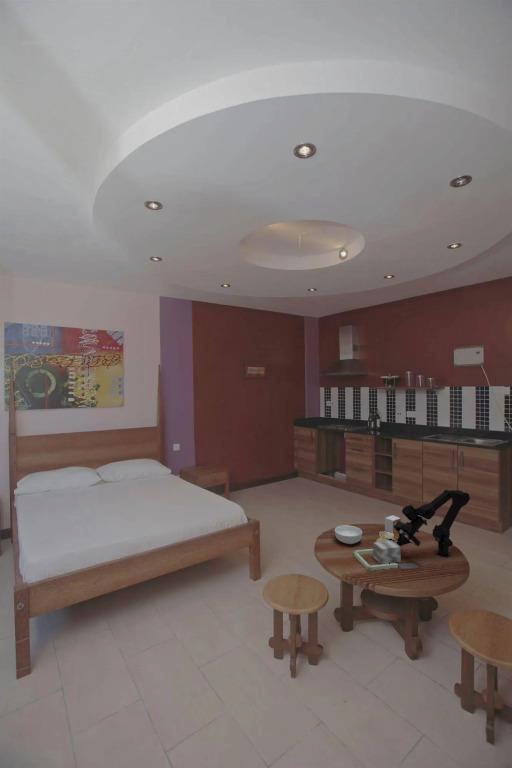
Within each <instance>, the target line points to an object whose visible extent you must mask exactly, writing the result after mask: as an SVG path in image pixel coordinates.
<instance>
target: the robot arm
mask: <svg viewBox="0 0 512 768" xmlns="http://www.w3.org/2000/svg"><path fill="white" fill-rule="evenodd" d="M470 499H471V496H470V494H469V493H468V492H466V491H463V490H460V489H455V490H454V489H444V491H443V492H442V493H440V494H439V495H438V496H436V497H435V498H434V499H433V500H431V502H428V503H424V504H422V505H420V506H419V507H417V508H415V507H414V506H413V505H412V504H409V505H408V506H407V505H406V506H404V507H403V508H402V509H401V512H402V514H403V515H404V516H405V518H407V519H408V521H407V522H403V521H402V520H401V521H399V520H398V522H397V524H395V525H394V526H393V527H394V528H395V529H396V530H397V531H398V533H399V538H398V539H397V540H396V542H395V543H396V544H397V545H399V546H400V547H402V546H405V545H408V544H412V542H413V543H414V546H416V547H420V546H421V541H420V540H419V539H418V538H417V537H416V536H415V535H416V533H418V534H419V532H420V531H419V530H420V528H421V527H422V526H423V525H424V526H428V521H427V520H431V519H432V518H433V517H434V516H435V515H436V512H437V510H438V509H440V508H441V507H442V506H444V505H445V504H446V503H447V502H449V501H450V500H451V502H452V503H451V504H450V507H449V509H448V510H447V512H446V514H445V515H444V517H443V519H442V521H441V523H440V524H439V525H437V524H435V525H434V527H433V529H432V532H431V534H432V537H433V538H434V540H435V541H436V542H437V551H436V552H435V554H437V555H440V556H442V557H446V558H449V557H450V556H451V555H452V552H450V547H453V543H454V542H453V541H452V539H450V536H451V528H452V526H453V524H454V522H455V520H456V518H457V516H458V514H459V512H460V511H461V509H462V508H463V507H465V506H466V505H467V504H468V503H469V502H470Z"/></svg>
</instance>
